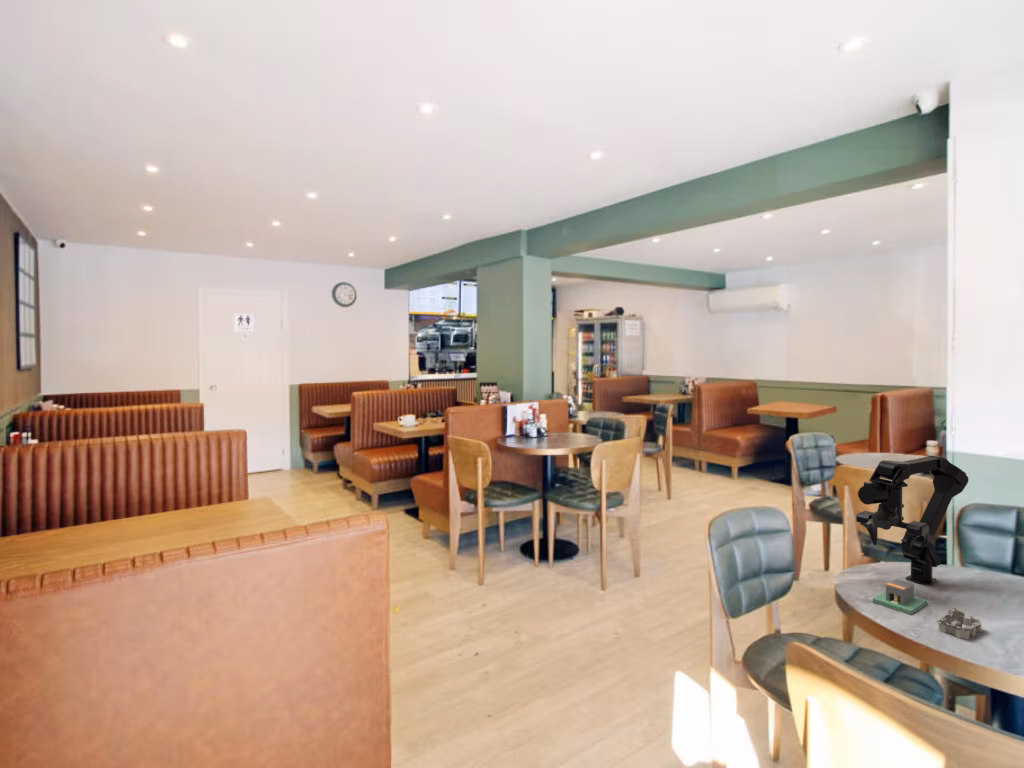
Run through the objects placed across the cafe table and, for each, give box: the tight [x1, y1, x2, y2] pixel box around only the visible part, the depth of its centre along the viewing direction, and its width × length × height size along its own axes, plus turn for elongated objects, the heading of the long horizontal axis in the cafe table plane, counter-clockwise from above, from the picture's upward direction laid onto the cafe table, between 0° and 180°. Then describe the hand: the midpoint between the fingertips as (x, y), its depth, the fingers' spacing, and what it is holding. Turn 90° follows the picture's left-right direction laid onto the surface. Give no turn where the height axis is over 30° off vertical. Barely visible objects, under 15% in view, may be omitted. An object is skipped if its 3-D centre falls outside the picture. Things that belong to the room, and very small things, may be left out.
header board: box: [872, 590, 928, 615], centre depth 166 cm, size 11×10×3 cm
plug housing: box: [885, 578, 915, 605], centre depth 166 cm, size 7×5×5 cm, turn 123°
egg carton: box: [936, 606, 984, 640], centre depth 150 cm, size 11×8×4 cm
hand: (890, 549), depth 177 cm, fingers open, 9 cm apart
